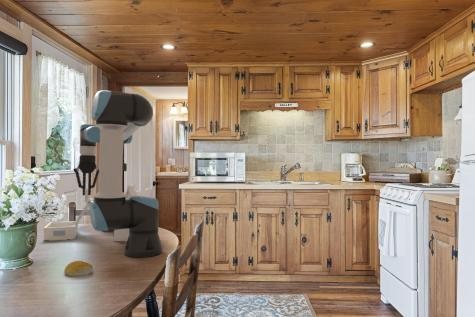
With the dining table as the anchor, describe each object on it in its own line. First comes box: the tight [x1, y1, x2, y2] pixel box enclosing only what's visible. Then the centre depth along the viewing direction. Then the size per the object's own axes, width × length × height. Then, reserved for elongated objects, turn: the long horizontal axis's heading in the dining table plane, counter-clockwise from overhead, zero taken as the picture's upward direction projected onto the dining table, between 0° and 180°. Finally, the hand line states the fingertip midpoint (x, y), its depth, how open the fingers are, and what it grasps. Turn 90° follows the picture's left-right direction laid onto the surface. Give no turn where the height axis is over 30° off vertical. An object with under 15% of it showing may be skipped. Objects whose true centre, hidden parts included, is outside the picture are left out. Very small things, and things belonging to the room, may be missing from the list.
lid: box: [74, 197, 94, 226], centre depth 179 cm, size 16×13×1 cm
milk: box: [113, 184, 141, 242], centre depth 174 cm, size 12×12×26 cm
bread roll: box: [63, 260, 93, 278], centre depth 120 cm, size 8×9×4 cm
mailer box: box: [43, 220, 79, 241], centre depth 176 cm, size 16×13×6 cm
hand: (86, 201), depth 179 cm, fingers closed
